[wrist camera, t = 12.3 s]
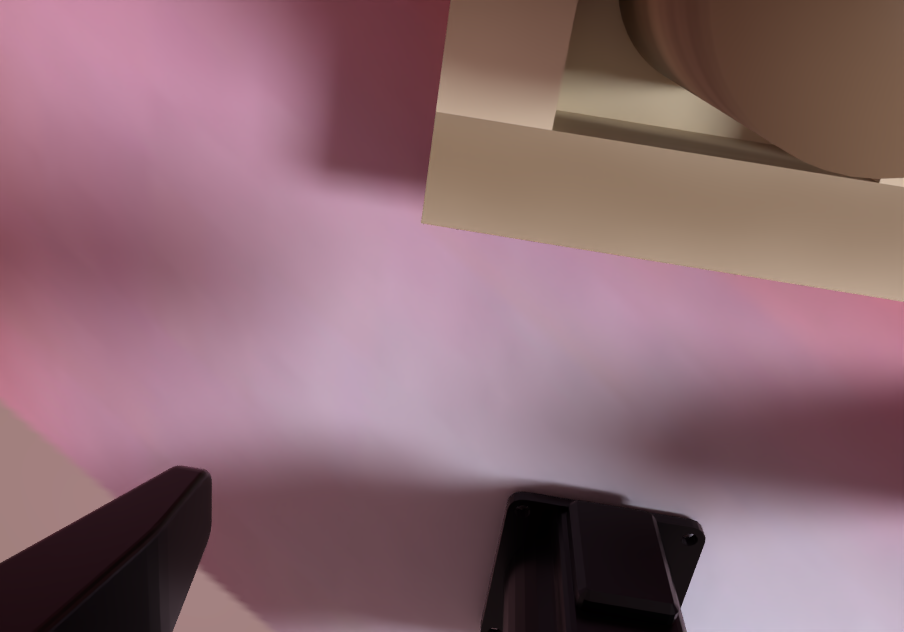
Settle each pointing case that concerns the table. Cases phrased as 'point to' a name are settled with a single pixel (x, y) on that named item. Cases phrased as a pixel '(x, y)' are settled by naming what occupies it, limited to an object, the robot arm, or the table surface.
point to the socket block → (635, 159)
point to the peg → (789, 72)
